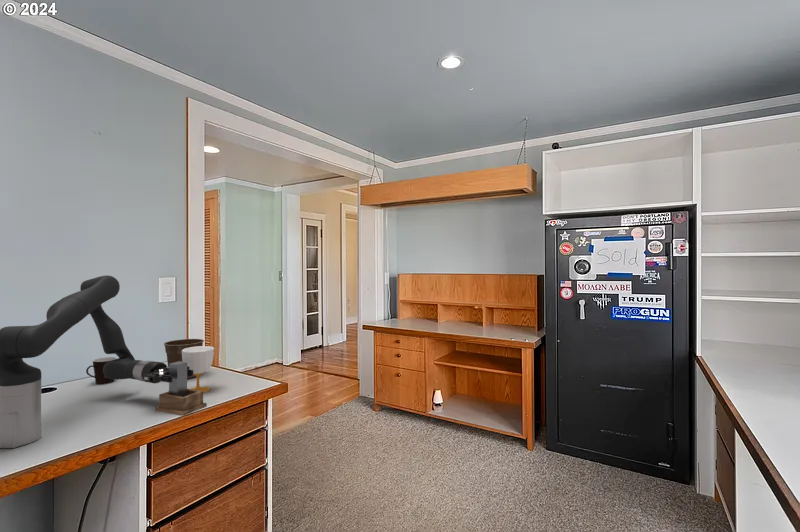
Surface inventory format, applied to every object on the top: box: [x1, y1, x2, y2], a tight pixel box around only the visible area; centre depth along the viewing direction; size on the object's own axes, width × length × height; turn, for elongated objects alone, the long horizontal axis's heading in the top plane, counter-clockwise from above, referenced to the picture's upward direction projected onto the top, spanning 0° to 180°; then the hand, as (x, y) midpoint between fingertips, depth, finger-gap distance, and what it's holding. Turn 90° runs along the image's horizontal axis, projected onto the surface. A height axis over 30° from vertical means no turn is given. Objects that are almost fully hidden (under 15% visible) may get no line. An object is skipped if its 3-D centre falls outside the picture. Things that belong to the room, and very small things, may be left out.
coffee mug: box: [85, 356, 118, 386], centre depth 170 cm, size 12×9×10 cm
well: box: [155, 388, 208, 416], centre depth 141 cm, size 10×13×6 cm
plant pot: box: [163, 338, 205, 380], centre depth 181 cm, size 16×16×16 cm
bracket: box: [168, 361, 188, 397], centre depth 141 cm, size 4×7×15 cm, turn 68°
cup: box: [182, 345, 215, 394], centre depth 160 cm, size 12×12×17 cm
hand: (182, 376), depth 141 cm, fingers open, 8 cm apart
